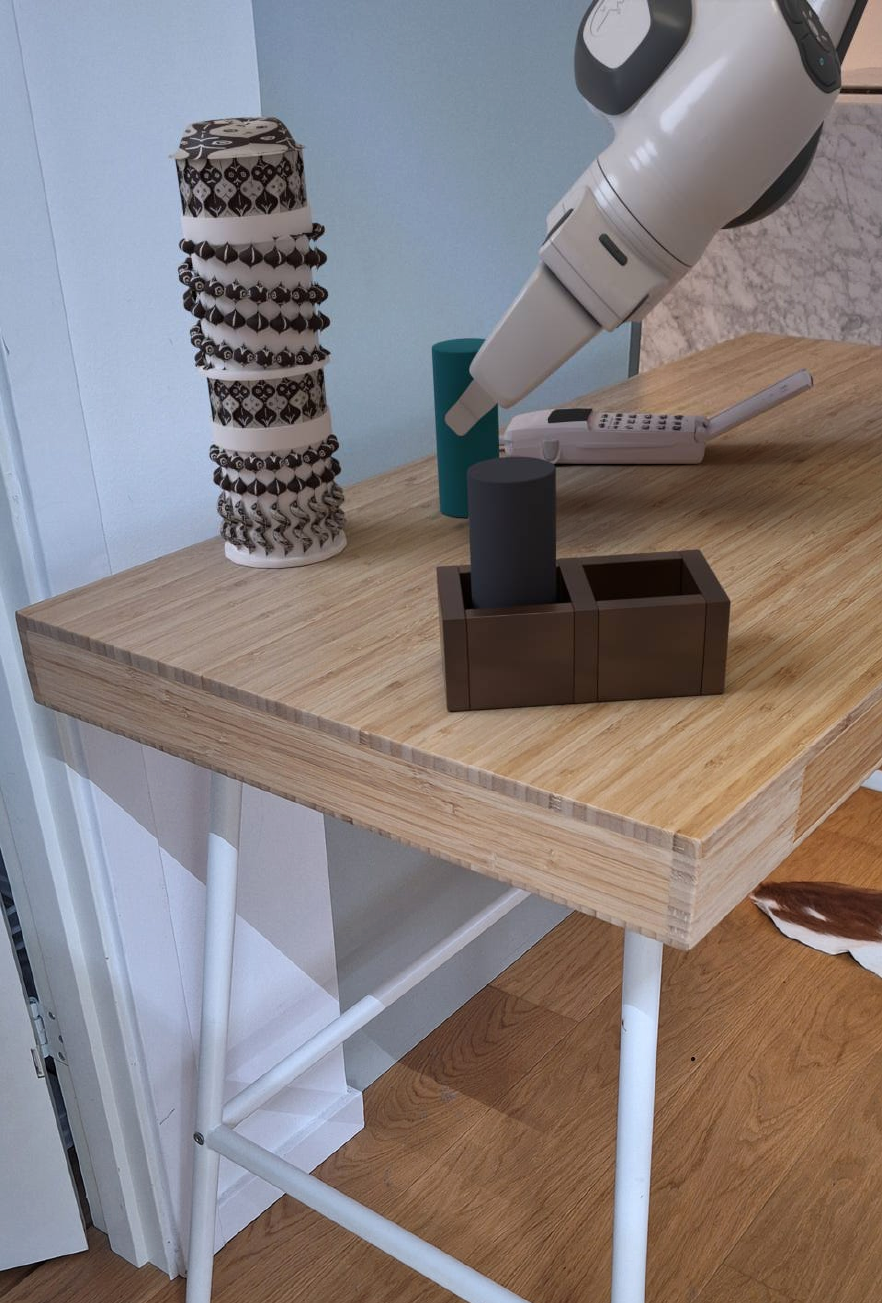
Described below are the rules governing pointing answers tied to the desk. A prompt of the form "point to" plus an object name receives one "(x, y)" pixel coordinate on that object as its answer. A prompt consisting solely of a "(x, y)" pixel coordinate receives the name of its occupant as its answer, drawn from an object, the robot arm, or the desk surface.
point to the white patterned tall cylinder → (260, 339)
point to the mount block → (588, 634)
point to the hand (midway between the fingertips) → (469, 407)
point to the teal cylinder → (451, 448)
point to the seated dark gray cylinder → (512, 532)
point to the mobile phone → (636, 430)
